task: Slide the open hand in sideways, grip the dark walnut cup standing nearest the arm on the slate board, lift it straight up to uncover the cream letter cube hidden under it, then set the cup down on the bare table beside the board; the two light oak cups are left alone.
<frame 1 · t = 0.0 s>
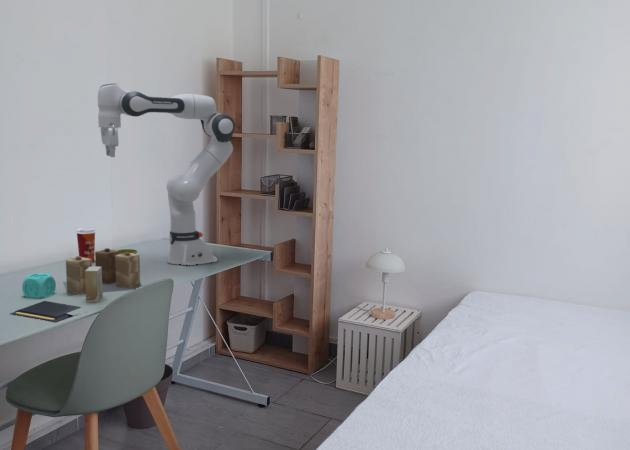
hand: (110, 156, 254), 48 cm above the table, tool pointing down, fingers open, 8 cm apart
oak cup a: (128, 285, 231), point 1 cm above the table, touching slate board
letter cube: (108, 281, 236), point 1 cm above the table, touching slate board
walnut cup: (108, 281, 236), point 1 cm above the table, touching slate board
oak cup b: (79, 291, 222), point 1 cm above the table, touching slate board
coffee cup: (87, 262, 270), on the table
decorative dice: (39, 297, 217), on the table
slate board: (103, 287, 231), on the table
skincare box: (94, 302, 213), on the table
dark grey book: (49, 314, 201), on the table
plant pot: (126, 271, 256), on the table
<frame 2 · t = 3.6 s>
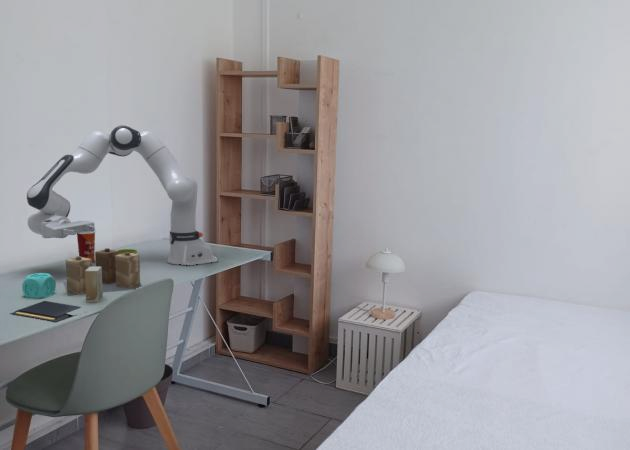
hand: (84, 230, 238), 20 cm above the table, tool horizontal, fingers open, 8 cm apart
nothing on the table moved.
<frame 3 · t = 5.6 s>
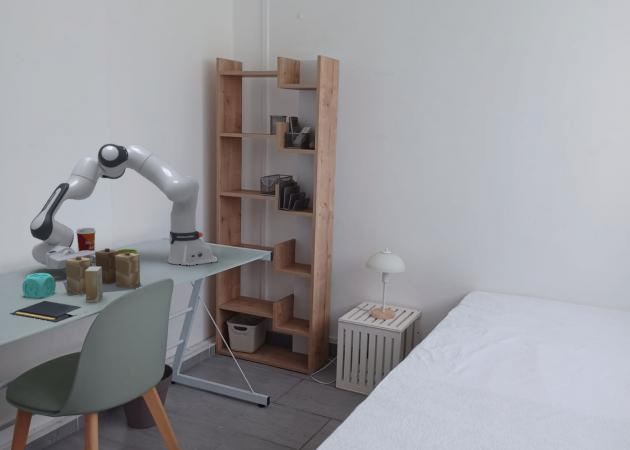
hand: (88, 261, 240), 8 cm above the table, tool horizontal, fingers open, 8 cm apart
nothing on the table moved.
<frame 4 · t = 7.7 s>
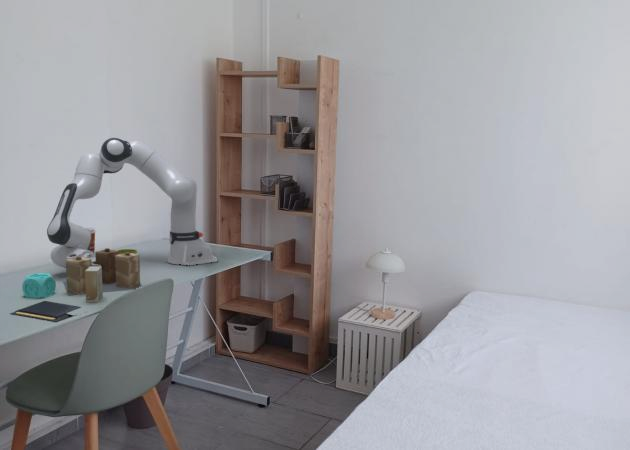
hand: (109, 265, 235), 8 cm above the table, tool horizontal, fingers closed on walnut cup, 6 cm apart
walnut cup: (108, 281, 236), point 1 cm above the table, touching gripper, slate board
everything else where it was.
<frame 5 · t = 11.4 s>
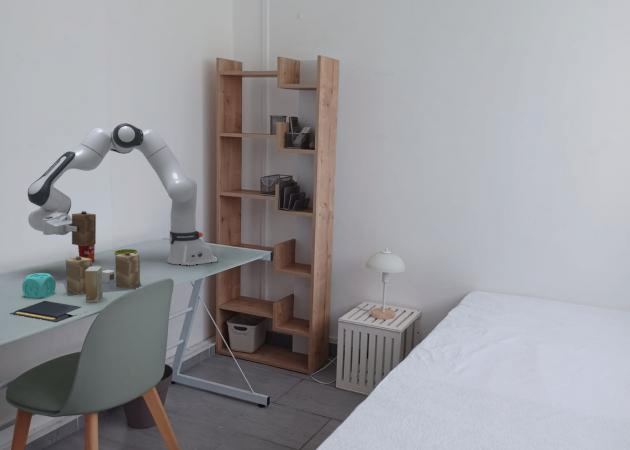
hand: (85, 227, 238), 21 cm above the table, tool horizontal, fingers closed on walnut cup, 6 cm apart
walnut cup: (83, 244, 239), point 15 cm above the table, touching gripper
everything else where it was.
when the fingers open (7 cm above the table, at t = 14.7 s): walnut cup stays where it is, on the table.
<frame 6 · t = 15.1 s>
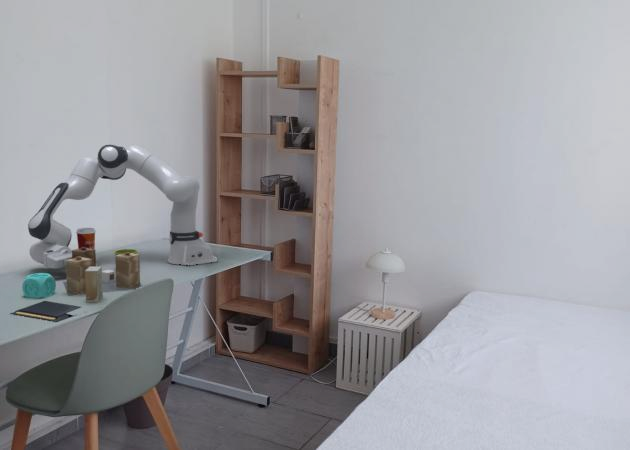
hand: (85, 261, 241), 7 cm above the table, tool horizontal, fingers open, 8 cm apart
walnut cup: (84, 278, 242), on the table
everything else where it was.
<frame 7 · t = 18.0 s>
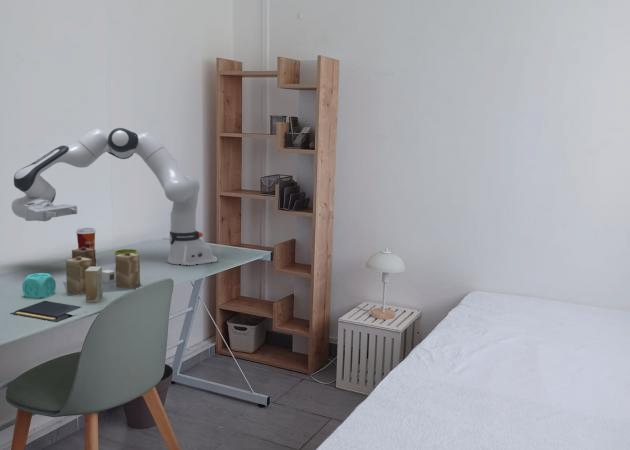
hand: (66, 213, 242), 26 cm above the table, tool horizontal, fingers open, 8 cm apart
nothing on the table moved.
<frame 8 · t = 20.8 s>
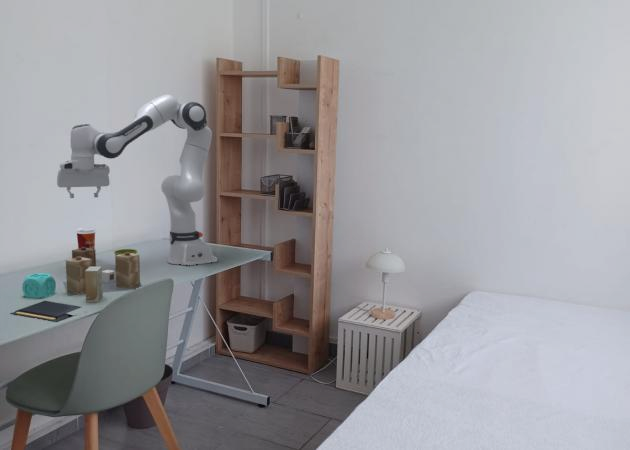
hand: (84, 197, 250), 31 cm above the table, tool pointing down, fingers open, 8 cm apart
nothing on the table moved.
at the end: walnut cup inside the target area (0.1 cm from its centre), on the table; walnut cup tilted 0°; walnut cup touching table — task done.
